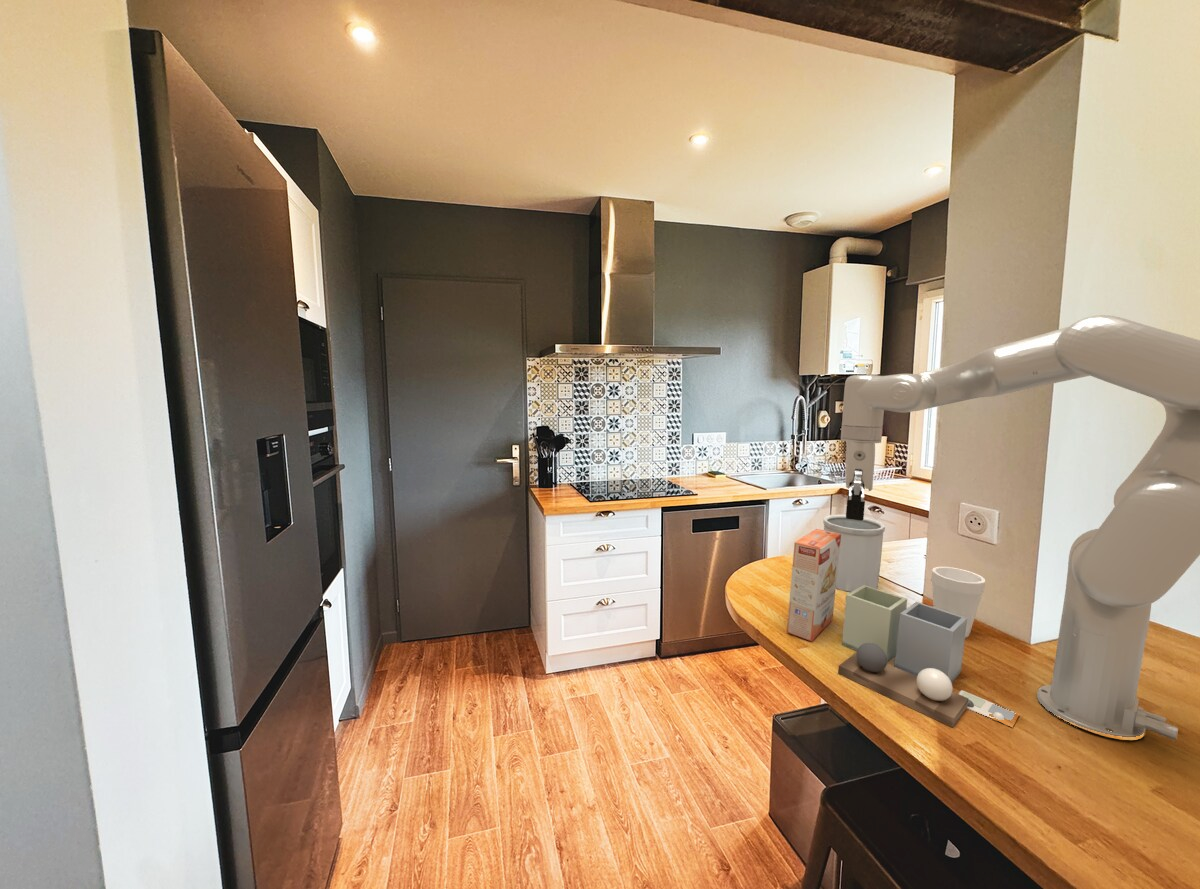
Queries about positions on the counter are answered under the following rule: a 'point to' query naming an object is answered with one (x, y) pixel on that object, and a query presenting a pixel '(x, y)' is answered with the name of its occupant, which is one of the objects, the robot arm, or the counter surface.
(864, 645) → the charcoal ball
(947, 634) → the slate pot
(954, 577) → the foam cup
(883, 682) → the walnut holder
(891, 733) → the counter surface
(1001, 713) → the card
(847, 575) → the utensil holder
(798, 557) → the cracker box
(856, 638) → the sage pot
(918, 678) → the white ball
